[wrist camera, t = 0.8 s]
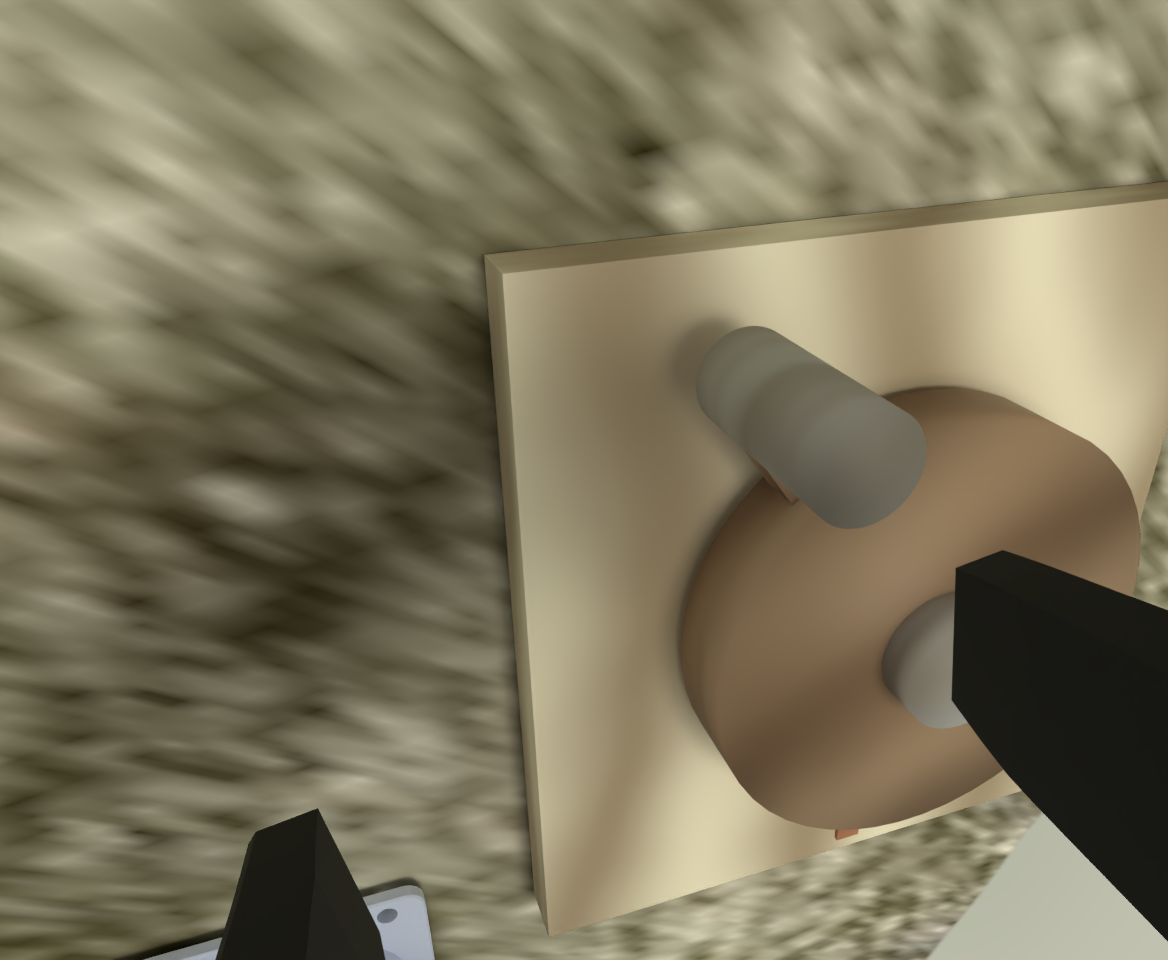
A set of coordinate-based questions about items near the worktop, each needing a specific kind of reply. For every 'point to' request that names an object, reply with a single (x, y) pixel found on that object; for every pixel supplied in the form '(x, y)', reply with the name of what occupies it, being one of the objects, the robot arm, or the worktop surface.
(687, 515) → the wooden cutting board
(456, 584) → the worktop surface
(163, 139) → the worktop surface
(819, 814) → the crank dial
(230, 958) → the robot arm
